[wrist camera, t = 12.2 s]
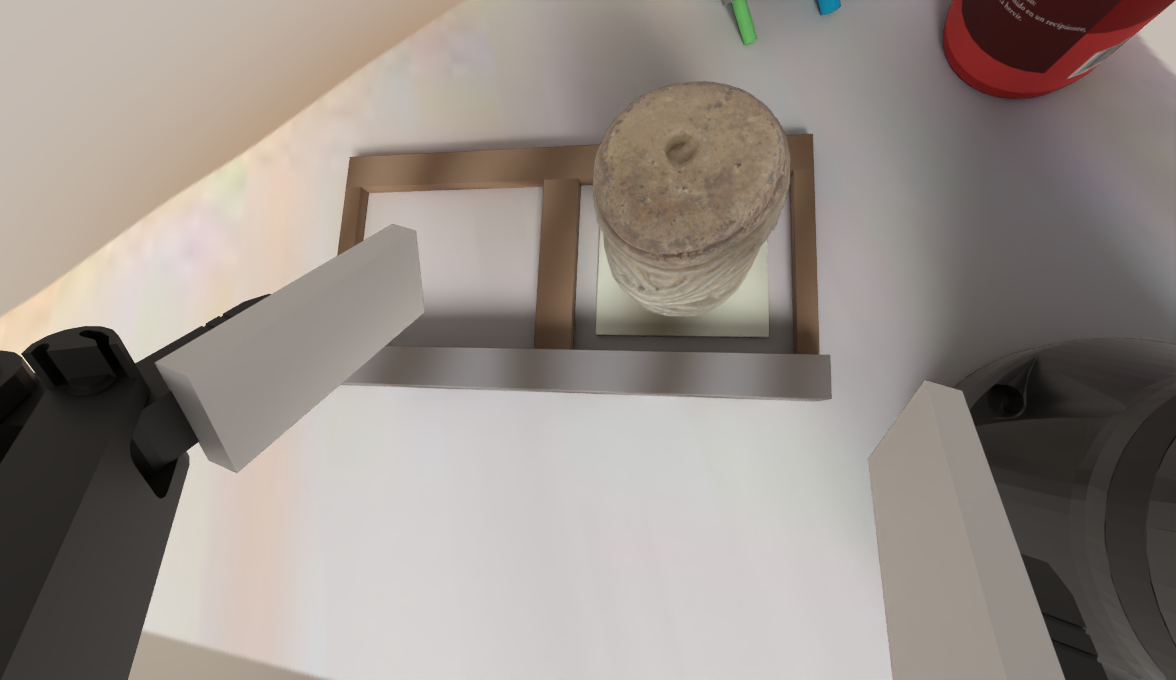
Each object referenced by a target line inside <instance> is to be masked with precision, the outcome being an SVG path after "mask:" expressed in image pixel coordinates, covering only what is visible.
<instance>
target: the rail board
mask: <svg viewBox="0 0 1176 680" xmlns="http://www.w3.org/2000/svg"><path fill="white" fill-rule="evenodd" d="M786 139H787V142H788V148H789V152H790V159H791V160H790V189H791V235H792V281H793V327H794V354H763V353H712V352H661V351H611V350H573V341H574V321H575V300H576V279H577V259H578V238H579V217H580V197H581V185H593V179H594V165H595V158H596V154H597V151H598V149H599V146H600V145H582V146H562V147H542V148H522V149H502V150H482V151H462V152H443V153H423V154H403V155H383V156H363V157H350V160H349V168H348V176H347V184H346V192H345V200H344V207H343V215H342V223H341V231H340V239H339V247H338V255H340V254H342V253H343V252H345V251H347V250H348V249H350V248H352V247H354V246H355V245H357V244H359V243H360V242H362V241H363V236H364V227H365V219H366V211H367V202H368V194H369V193H377V192H404V191H431V190H458V189H485V188H513V187H540V186H544V190H543V206H542V223H541V239H540V255H539V272H538V288H537V305H536V321H535V337H534V349H509V348H459V347H408V346H385V347H383V348H382V349H381V350H380V351H379V352H378V353H376V354H375V355H374V356H373V357H372V358H371V359H369V360H368V361H367V362H366V363H365V364H364V365H363V366H361V367H360V368H359V369H358V370H357V371H356V372H354V373H353V374H352V375H351V376H350V377H349V378H347V379H346V380H345V381H344V382H343V383H342V384H340V385H360V386H389V387H418V388H447V389H476V390H505V391H534V392H563V393H592V394H621V395H650V396H678V397H707V398H736V399H765V400H794V401H821V400H827V399H832V394H831V364H830V355H819V322H818V289H817V255H816V222H815V189H814V155H813V134H801V135H786ZM338 255H337V256H338ZM596 335H637V336H705V337H769V304H768V238H767V240H766V241H765V243H764V244H763V245H762V246H761V248H760V250H759V252H758V254H757V256H756V258H755V260H754V262H753V265H752V267H751V268H750V270H749V271H748V273H747V276H746V278H745V279H744V281H743V282H742V284H741V285H740V287H739V288H738V289H737V291H736V292H735V293H734V294H733V295H732V296H731V297H729V298H728V299H727V300H726V301H725V302H724V303H722V304H721V305H719V306H718V307H716V308H714V309H712V310H710V311H708V312H705V313H703V314H700V315H697V316H692V317H676V316H664V315H659V314H657V313H653V312H650V311H648V310H646V309H645V308H643V307H642V306H641V305H639V304H638V303H637V302H636V300H635V299H633V298H631V297H630V296H629V295H628V293H626V292H624V291H623V290H622V289H621V288H620V286H619V285H618V283H617V282H616V281H615V279H614V278H613V275H612V273H611V269H610V266H609V263H608V260H607V256H606V252H605V248H604V236H603V232H602V230H601V228H600V242H599V266H598V290H597V314H596Z"/></svg>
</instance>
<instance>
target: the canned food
mask: <svg viewBox="0 0 1176 680" xmlns="http://www.w3.org/2000/svg"><path fill="white" fill-rule="evenodd" d="M1174 1H1175V0H953V1H952V3H951V5H950V8H949V11H948V15H947V18H946V22H945V27H944V31H943V46H944V51H945V55H946V58H947V60H948V62H949V64H950V65H951V67H952V69H953V70H954V71H955V72H956V74H957V75H958V76H959V77H960V78H961V79H962V80H964V81H965V82H966V83H967V84H969V85H970V86H972V87H973V88H975V89H977V90H979V91H981V92H983V93H987V94H990V95H993V96H996V97H1003V98H1011V99H1018V98H1031V97H1036V96H1041V95H1045V94H1048V93H1050V92H1053V91H1055V90H1058V89H1060V88H1062V87H1065V86H1067V85H1069V84H1071V83H1073V82H1075V81H1077V80H1078V79H1080V78H1082V77H1083V76H1085V75H1087V74H1088V73H1089V72H1090V71H1092V70H1093V69H1094V68H1095V67H1096V66H1098V65H1099V64H1100V63H1101V62H1102V61H1103V60H1105V59H1106V58H1107V57H1108V56H1109V55H1111V54H1112V53H1113V52H1114V51H1115V50H1117V49H1118V48H1119V47H1120V46H1121V45H1123V44H1124V43H1125V42H1126V41H1127V40H1129V39H1130V38H1131V37H1132V36H1133V35H1135V34H1136V33H1137V32H1138V31H1139V30H1141V29H1142V28H1143V27H1144V26H1145V25H1146V24H1148V23H1149V22H1150V21H1151V20H1152V19H1154V18H1155V17H1156V16H1157V15H1158V14H1160V13H1161V12H1162V11H1163V10H1164V9H1165V8H1167V7H1168V6H1169V5H1170V4H1172V3H1173V2H1174Z"/></svg>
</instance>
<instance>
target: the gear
mask: <svg viewBox="0 0 1176 680" xmlns="http://www.w3.org/2000/svg"><path fill="white" fill-rule="evenodd" d="M721 1H722V4H723V5H727V4H730V3H732V6H733V9H734V13H735V16H736V19H737V23H738V26H739V29H740V33H741V36H742V39H743V42H744V45H746V44H749V43H751V42H753V41H754V40H756V39H757V36H756V33H755V29H754V26H753V22H752V19H751V15H750V12H749V8H748V5H747V1H746V0H721ZM818 3H819V8H820V12H821V15H826V14H828V13H831V12H833V11H835V10H836V9H838V8H839V7H840V6H841V4H840V0H818Z"/></svg>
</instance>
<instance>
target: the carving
mask: <svg viewBox="0 0 1176 680" xmlns="http://www.w3.org/2000/svg"><path fill="white" fill-rule="evenodd" d="M790 160H791V159H790V152H789V148H788V142H787V139H786V135H785V133H784V131H783V129H782V127H781V125H780V123H779V121H778V120H777V118H776V117H775V116H774V115H773V113H772V112H771V110H770V109H769V108H768V107H767V106H766V105H765V104H763V103H762V102H761V101H759V100H758V99H756V98H755V97H754V96H752V95H751V94H749V93H747V92H745V91H743V90H741V89H739V88H736V87H733V86H729V85H726V84H720V83H714V82H687V83H680V84H675V85H670V86H666V87H663V88H660V89H657V90H655V91H652V92H650V93H647V94H645V95H643V96H641V97H639V98H638V99H636V100H635V101H634V102H633V103H631V104H630V105H629V106H628V107H627V108H626V109H625V110H624V111H623V112H622V113H621V114H620V115H619V116H618V117H617V118H616V119H615V120H614V121H613V123H612V124H611V126H610V127H609V128H608V130H607V131H606V133H605V135H604V138H603V140H602V142H601V144H600V146H599V149H598V151H597V154H596V158H595V165H594V179H593V197H594V206H595V211H596V214H597V221H598V224H599V226H600V228H601V230H602V232H603V236H604V248H605V252H606V256H607V260H608V263H609V266H610V269H611V273H612V275H613V278H614V279H615V281H616V282H617V283H618V285H619V286H620V288H621V289H622V290H623V291H624V292H626V293H628V295H629V296H630V297H631V298H633V299H635V300H636V302H637V303H638V304H639V305H641V306H642V307H643V308H645V309H646V310H648V311H650V312H653V313H657V314H659V315H664V316H676V317H692V316H697V315H700V314H703V313H705V312H708V311H710V310H712V309H714V308H716V307H718V306H719V305H721V304H722V303H724V302H725V301H726V300H727V299H728V298H729V297H731V296H732V295H733V294H734V293H735V292H736V291H737V289H738V288H739V287H740V285H741V284H742V282H743V281H744V279H745V278H746V276H747V273H748V271H749V270H750V268H751V267H752V265H753V262H754V260H755V258H756V256H757V254H758V252H759V250H760V248H761V246H762V245H763V244H764V243H765V241H766V240H767V238H768V236H769V235H770V233H771V231H772V230H774V228H775V227H776V224H777V221H778V218H779V215H780V212H781V210H782V208H783V206H784V201H785V198H786V195H787V192H788V189H789V185H790Z"/></svg>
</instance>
